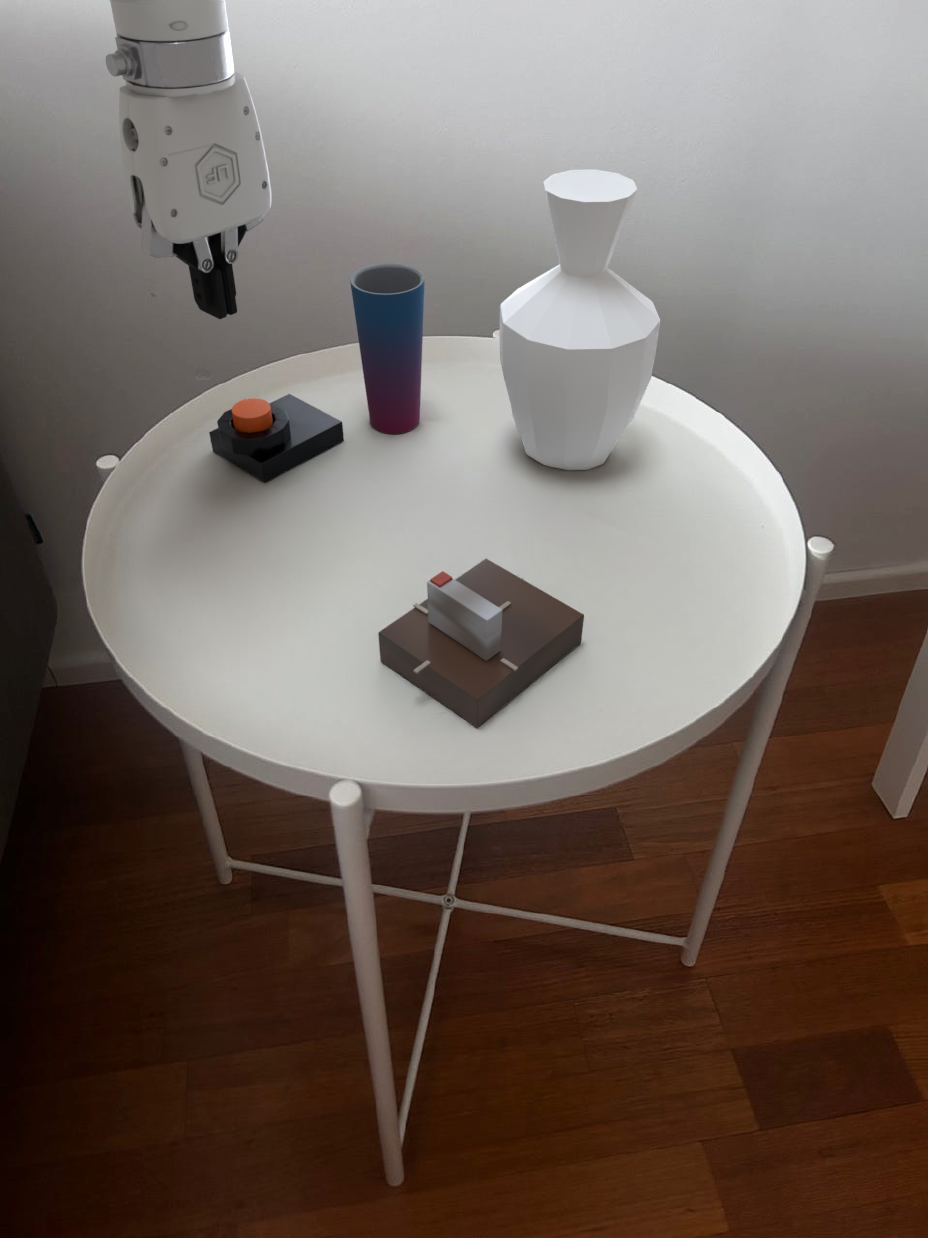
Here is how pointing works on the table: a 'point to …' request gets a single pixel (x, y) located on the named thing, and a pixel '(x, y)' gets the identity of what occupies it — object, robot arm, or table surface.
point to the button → (252, 415)
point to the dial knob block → (462, 678)
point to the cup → (390, 342)
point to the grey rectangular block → (464, 615)
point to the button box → (278, 439)
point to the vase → (578, 330)
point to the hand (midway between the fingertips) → (217, 310)
